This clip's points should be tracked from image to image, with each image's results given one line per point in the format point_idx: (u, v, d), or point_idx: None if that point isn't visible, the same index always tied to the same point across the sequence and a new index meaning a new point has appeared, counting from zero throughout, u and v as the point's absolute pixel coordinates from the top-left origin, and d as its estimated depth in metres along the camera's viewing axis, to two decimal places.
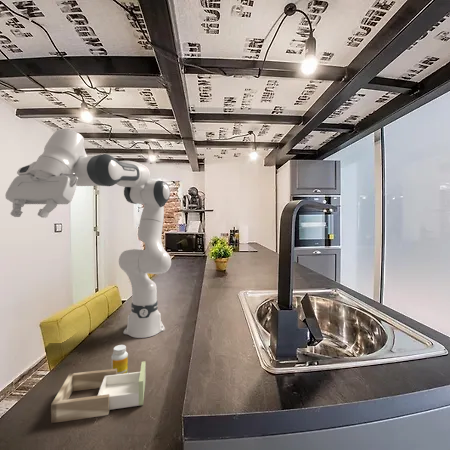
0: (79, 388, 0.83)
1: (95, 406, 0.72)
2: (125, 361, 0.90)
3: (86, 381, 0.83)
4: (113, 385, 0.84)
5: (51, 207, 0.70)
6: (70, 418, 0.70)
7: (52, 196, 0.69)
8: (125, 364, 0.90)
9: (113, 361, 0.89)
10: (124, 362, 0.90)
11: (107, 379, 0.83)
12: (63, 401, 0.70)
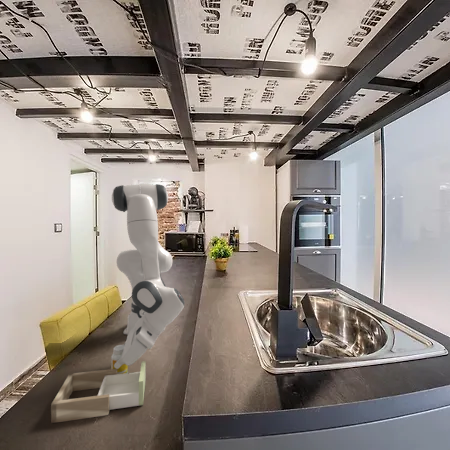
0: (79, 388, 0.83)
1: (95, 406, 0.72)
2: None
3: (86, 381, 0.83)
4: (113, 385, 0.84)
5: None
6: (70, 418, 0.70)
7: None
8: (125, 364, 0.90)
9: (113, 361, 0.89)
10: None
11: (107, 379, 0.83)
12: (63, 401, 0.70)
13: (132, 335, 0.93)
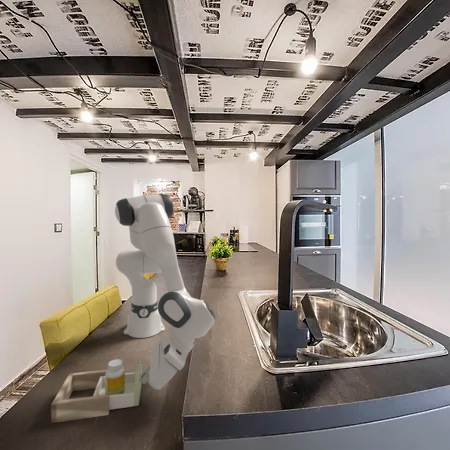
0: (79, 388, 0.83)
1: (95, 406, 0.72)
2: (121, 378, 0.78)
3: (86, 381, 0.83)
4: None
5: None
6: (70, 418, 0.70)
7: None
8: (121, 382, 0.78)
9: (107, 379, 0.77)
10: (120, 380, 0.78)
11: (103, 379, 0.83)
12: (63, 401, 0.70)
13: (157, 352, 0.84)
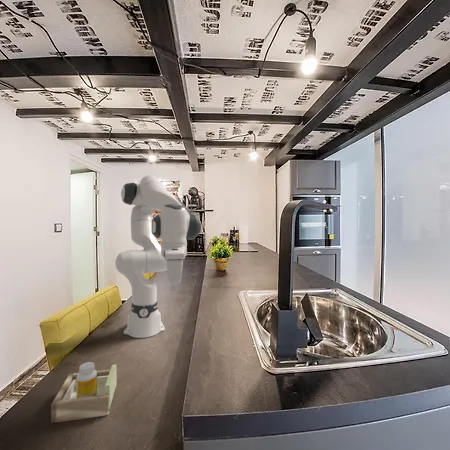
0: None
1: (95, 406, 0.72)
2: (93, 382, 0.77)
3: None
4: None
5: None
6: (70, 418, 0.70)
7: None
8: (93, 385, 0.77)
9: (78, 382, 0.75)
10: (91, 383, 0.76)
11: None
12: (63, 401, 0.70)
13: None
